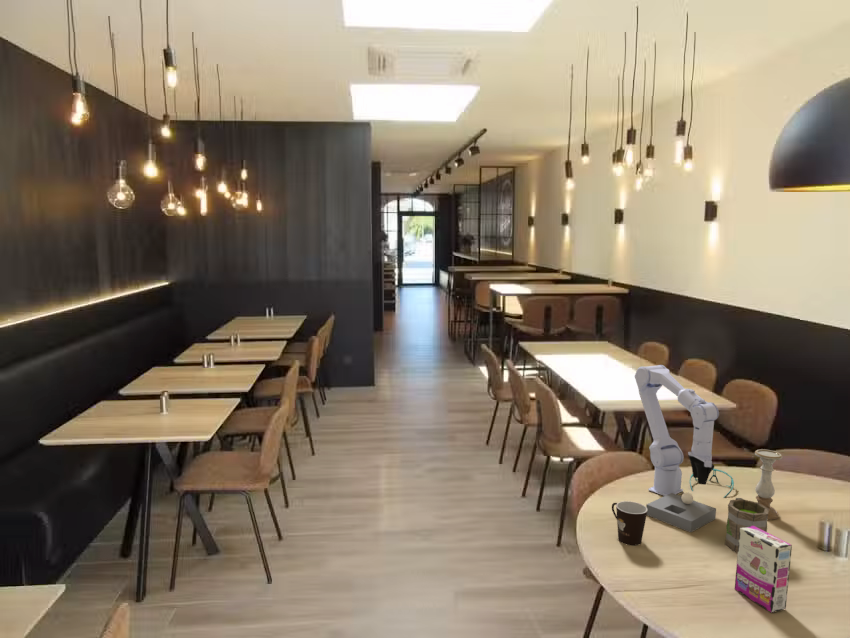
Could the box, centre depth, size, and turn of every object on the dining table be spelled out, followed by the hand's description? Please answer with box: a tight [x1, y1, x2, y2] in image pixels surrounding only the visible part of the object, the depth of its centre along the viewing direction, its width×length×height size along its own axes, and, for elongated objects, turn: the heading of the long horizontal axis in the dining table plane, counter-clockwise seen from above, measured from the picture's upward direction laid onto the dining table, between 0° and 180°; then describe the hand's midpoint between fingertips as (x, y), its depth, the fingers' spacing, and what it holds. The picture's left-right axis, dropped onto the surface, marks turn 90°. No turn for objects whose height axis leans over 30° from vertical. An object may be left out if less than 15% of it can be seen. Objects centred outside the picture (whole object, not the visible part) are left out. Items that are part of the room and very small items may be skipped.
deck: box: [645, 493, 717, 533], centre depth 199 cm, size 15×15×4 cm
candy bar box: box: [734, 526, 793, 613], centre depth 154 cm, size 11×5×16 cm, turn 21°
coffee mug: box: [611, 500, 648, 546], centre depth 185 cm, size 12×9×10 cm
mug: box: [724, 497, 769, 554], centre depth 182 cm, size 16×11×12 cm
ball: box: [681, 492, 694, 504], centre depth 201 cm, size 4×4×4 cm
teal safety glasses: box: [689, 468, 735, 499], centre depth 223 cm, size 14×15×5 cm
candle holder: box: [754, 448, 783, 521], centre depth 201 cm, size 9×9×20 cm
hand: (699, 480), depth 205 cm, fingers open, 5 cm apart
